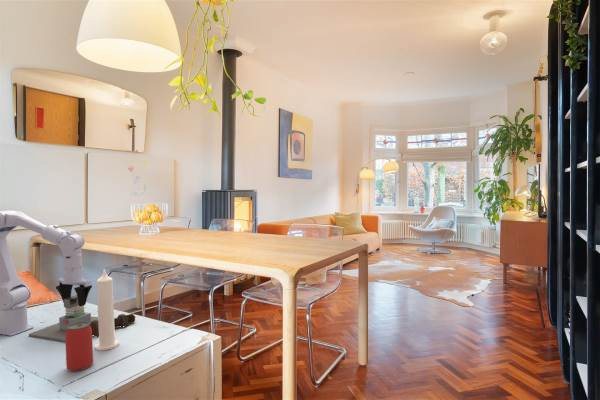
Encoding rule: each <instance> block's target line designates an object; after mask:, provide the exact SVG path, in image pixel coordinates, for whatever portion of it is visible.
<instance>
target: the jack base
mask: <svg viewBox="0 0 600 400" xmlns="http://www.w3.org/2000/svg"><path fill="white" fill-rule="evenodd" d="M84 312H85V314H84V315H81V316H79V317H76V318H70V317H68V316H67V317H66V316H65V315H63V316H60V317H59V318H58V323H55V324H52V325H49V326H47V327H44V328H41V329H38V330H35V331H33V332H30V333H28V337H30V338H31V337H32V338H38V339H42V340H43V339H44V340H49V341H55V342H61V343H65V335H66V331H67V327H68V326H69V325H71V324H74V323H78V322H89V323H90V324H91V322H92V321H94V320H97V321H98V316H92V314H91V312H86V311H84Z"/></svg>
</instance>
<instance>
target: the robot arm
mask: <svg viewBox="0 0 600 400" xmlns="http://www.w3.org/2000/svg"><path fill="white" fill-rule="evenodd" d="M17 227H21V228H24V229H27V230H30V231H32V232H35V233H37V234H40V235H41V239H43V240H44V241H47V242H49V243H51V244H53V245H56V246H58V247H59V249H60V250H61V252H62V258H63V277H60V278H56V286H55V289H56V290H57V292H58V293H59V294H60V297H61V300H62V303H63V304H64V299H65V298H69V297H72V289H74V292H75V293H76V295H77V297H78V304H79V306H83V305H84V306H85V305H86V303H87V300H88V296H89V293H90V291H91V290H92V287H93V285H92V280H91V279H88V278H84V275H83V252H82V251H83V250H82V248H83V247H84V245H85V238H84V237H83V236H82V235H81V234H80V233H72V232H71V231H70V230H65V229H63V228H61V227H60V225H58V224H50V225H45V224H44V223H43V222H40V221H38V220H36V219H34V218H33V217H30V216H28V215H27V214H26V213H25V212H23V211H19V210H17V209H10V210H0V335H5V336H11V337H13V336H14V335H17V334H20V333H22V332H26V331H28V330H31V329H33V328H34V327H35V326H33V325H28V306H27V304H28V303H29V302H28V300H30V299H31V295H32V290H31V289H30V288H29V287H28V285H27V284H26V281H25V280H23V279H21V278H20V277H19V275H18V272H17V268H16V265H15V263H14V259H13V256H12V254H11V250H10V247H9V243H8V240H7V236H8V235H9V234H10V233H11V232H12V231H13V230H14V229H15V228H17ZM73 286H77V287H73Z"/></svg>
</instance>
